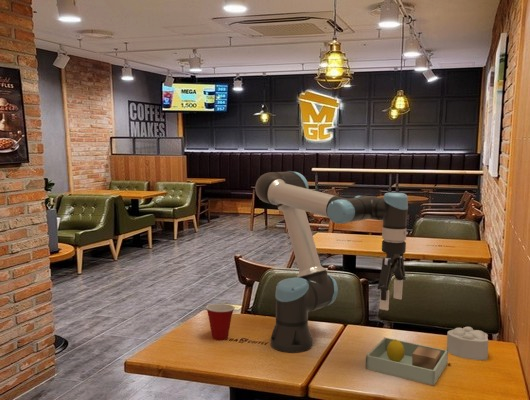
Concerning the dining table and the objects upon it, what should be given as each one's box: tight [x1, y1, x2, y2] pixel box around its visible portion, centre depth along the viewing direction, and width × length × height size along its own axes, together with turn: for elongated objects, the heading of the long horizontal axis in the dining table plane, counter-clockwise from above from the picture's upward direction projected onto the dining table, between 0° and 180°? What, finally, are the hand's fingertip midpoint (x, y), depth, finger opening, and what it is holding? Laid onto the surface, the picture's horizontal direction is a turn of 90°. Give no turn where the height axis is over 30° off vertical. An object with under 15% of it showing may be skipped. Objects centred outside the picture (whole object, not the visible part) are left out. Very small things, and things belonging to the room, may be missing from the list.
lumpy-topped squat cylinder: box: [446, 326, 489, 361], centre depth 171 cm, size 10×13×9 cm
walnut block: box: [412, 346, 441, 370], centre depth 157 cm, size 7×7×6 cm
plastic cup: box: [205, 303, 235, 341], centre depth 186 cm, size 11×11×12 cm
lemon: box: [387, 339, 404, 362], centre depth 162 cm, size 6×6×8 cm
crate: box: [365, 337, 449, 386], centre depth 160 cm, size 21×18×5 cm
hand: (390, 303), depth 163 cm, fingers open, 13 cm apart
